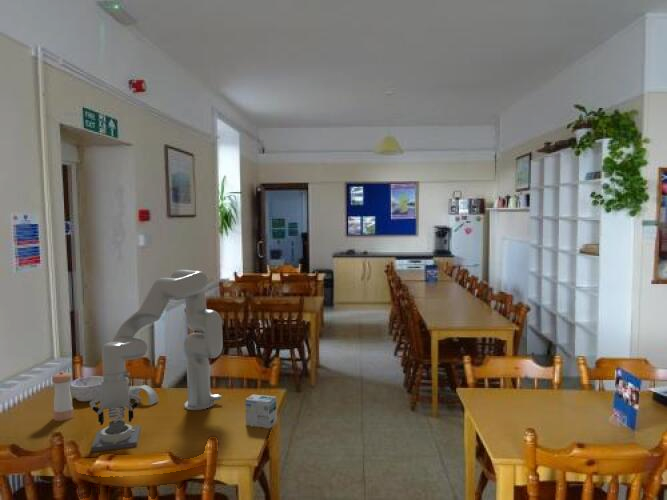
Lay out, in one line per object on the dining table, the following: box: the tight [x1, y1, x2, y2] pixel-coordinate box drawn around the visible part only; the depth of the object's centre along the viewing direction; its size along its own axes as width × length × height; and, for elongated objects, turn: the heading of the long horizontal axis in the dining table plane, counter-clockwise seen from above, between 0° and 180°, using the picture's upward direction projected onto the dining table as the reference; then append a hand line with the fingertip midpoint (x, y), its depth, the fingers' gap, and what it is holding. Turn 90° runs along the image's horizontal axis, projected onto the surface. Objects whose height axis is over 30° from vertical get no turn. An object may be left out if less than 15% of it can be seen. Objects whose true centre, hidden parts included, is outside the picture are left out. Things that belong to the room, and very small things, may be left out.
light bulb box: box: [244, 393, 278, 430], centre depth 204 cm, size 11×7×11 cm, turn 71°
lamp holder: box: [90, 423, 141, 453], centre depth 191 cm, size 15×15×4 cm
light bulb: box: [108, 407, 126, 434], centre depth 191 cm, size 6×6×12 cm
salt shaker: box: [51, 370, 74, 422], centre depth 213 cm, size 7×7×19 cm
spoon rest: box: [130, 384, 159, 406], centre depth 233 cm, size 24×12×7 cm, turn 62°
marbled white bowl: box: [70, 375, 103, 402], centre depth 236 cm, size 15×15×8 cm
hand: (116, 422), depth 191 cm, fingers open, 9 cm apart
